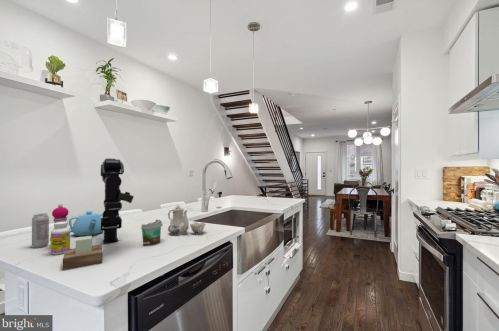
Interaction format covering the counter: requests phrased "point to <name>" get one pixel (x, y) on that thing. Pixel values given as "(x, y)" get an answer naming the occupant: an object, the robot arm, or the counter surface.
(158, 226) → the food container
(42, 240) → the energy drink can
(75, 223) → the teapot
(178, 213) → the chinaware
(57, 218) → the pepper mill
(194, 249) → the counter surface
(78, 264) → the walnut block
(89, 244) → the sage cube
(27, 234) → the counter surface
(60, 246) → the supplement bottle
